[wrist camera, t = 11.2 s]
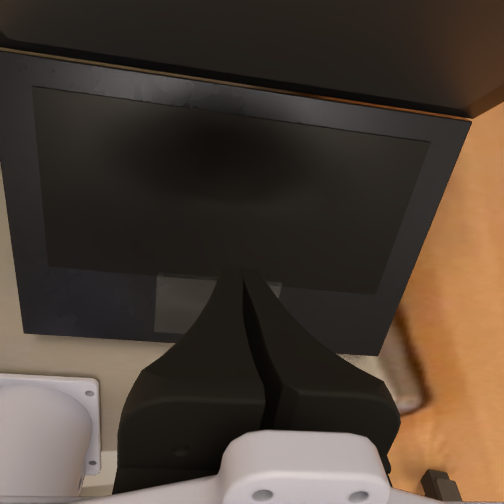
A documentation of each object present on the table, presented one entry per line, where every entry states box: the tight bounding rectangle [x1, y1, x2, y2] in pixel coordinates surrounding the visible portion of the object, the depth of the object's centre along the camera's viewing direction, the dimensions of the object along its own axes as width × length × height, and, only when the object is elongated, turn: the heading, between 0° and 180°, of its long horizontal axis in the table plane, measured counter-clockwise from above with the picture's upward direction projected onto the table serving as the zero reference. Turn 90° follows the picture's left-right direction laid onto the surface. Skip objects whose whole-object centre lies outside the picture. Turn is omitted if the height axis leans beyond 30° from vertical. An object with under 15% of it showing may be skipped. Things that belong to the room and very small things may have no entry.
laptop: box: [0, 47, 472, 356], centre depth 22 cm, size 14×20×2 cm
